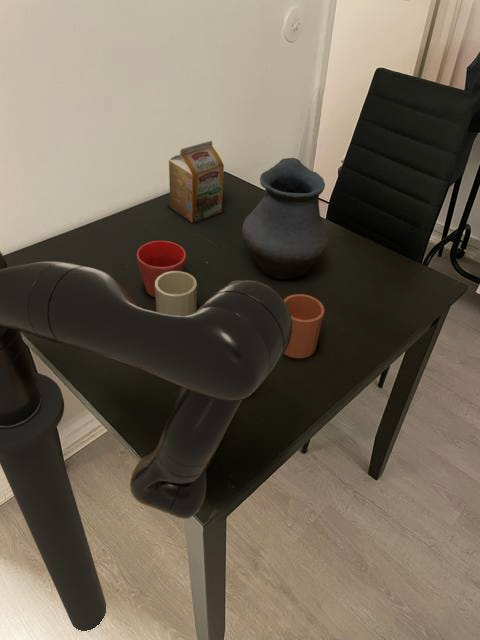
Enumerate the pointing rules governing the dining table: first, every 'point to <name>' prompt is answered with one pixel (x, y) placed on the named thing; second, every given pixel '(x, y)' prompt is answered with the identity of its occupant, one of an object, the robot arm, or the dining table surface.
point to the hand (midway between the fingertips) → (225, 332)
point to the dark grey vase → (287, 221)
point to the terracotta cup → (304, 324)
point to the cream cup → (176, 293)
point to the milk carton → (196, 182)
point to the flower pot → (159, 261)
